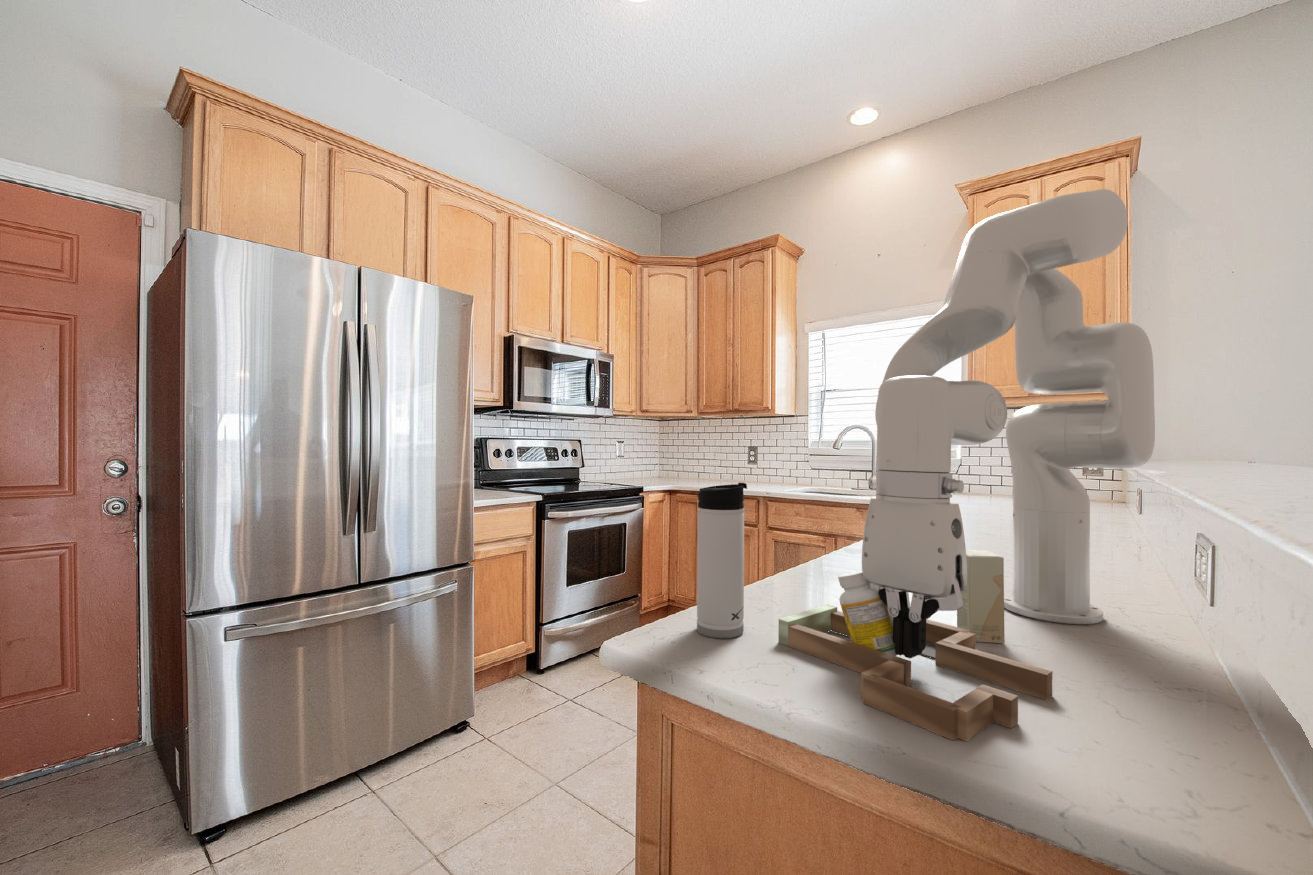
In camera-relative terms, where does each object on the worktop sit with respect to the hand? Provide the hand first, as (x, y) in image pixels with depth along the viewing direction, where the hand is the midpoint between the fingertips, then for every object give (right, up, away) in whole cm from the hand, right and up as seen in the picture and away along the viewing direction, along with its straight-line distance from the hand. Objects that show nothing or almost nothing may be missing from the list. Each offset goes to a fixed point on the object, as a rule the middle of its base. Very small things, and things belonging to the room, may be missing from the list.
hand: (908, 653), depth 61 cm
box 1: (0, -2, +2) cm, 3 cm away
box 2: (+15, -3, +12) cm, 19 cm away
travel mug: (-19, -2, +13) cm, 24 cm away
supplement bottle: (-2, -2, +3) cm, 4 cm away
